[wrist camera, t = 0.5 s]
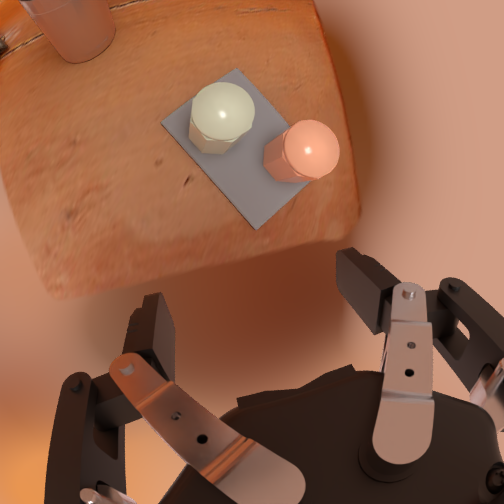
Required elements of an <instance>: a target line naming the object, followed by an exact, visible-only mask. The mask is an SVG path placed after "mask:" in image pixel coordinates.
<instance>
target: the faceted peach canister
mask: <svg viewBox="0 0 504 504" xmlns="http://www.w3.org/2000/svg"><path fill="white" fill-rule="evenodd" d="M338 159H339V145H338V141H337V139H336V137H335V135H334V134H333V132H332V131H331V130H330V129H329V128H328V127H327V126H326V125H324V124H323V123H321V122H318V121H315V120H304V121H298V122H297V123H295V124H294V125H292V126H291V127H289V128H288V129H286V130H285V131H284V132H282V133H281V134H279V135H278V136H277V137H275V138H274V139H273V140H272V141H270V142H269V143H268V144H267V145H265V146H264V159H263V166H264V167H265V169H266V170H267V171H268V172H269V173H270V175H271V176H272V177H273V178H274V179H275V181H281V182H290V183H298V182H304V181H310V180H316V179H320V178H321V177H322V176H324V175H326V174H328V173H330V172H331V171H332V170H333V169H334V167H335V166H336V164H337V162H338Z"/></svg>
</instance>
